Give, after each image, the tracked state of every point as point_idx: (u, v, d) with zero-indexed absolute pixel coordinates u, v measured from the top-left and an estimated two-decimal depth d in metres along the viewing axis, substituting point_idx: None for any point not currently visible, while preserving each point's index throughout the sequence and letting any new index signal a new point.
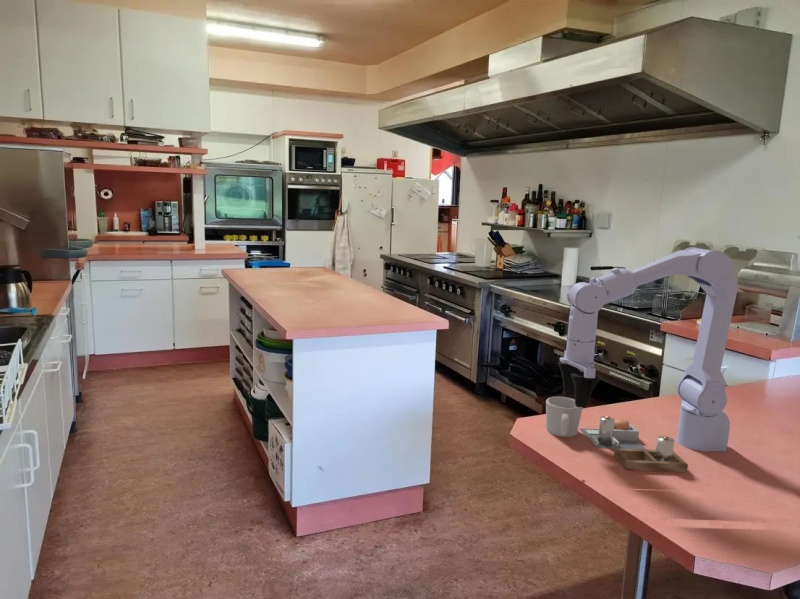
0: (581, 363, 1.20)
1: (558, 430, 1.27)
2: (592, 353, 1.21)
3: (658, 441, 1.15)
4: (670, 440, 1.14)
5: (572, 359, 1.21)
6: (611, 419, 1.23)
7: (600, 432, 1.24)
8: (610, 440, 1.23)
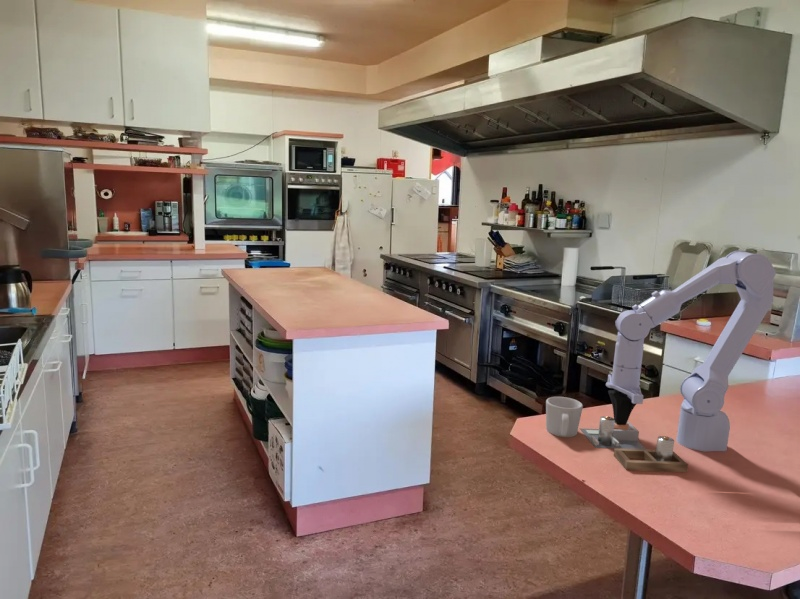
0: (628, 388, 1.25)
1: (558, 430, 1.27)
2: (638, 379, 1.25)
3: (658, 441, 1.15)
4: (670, 440, 1.14)
5: (619, 384, 1.25)
6: (611, 419, 1.23)
7: (600, 432, 1.24)
8: (610, 440, 1.23)
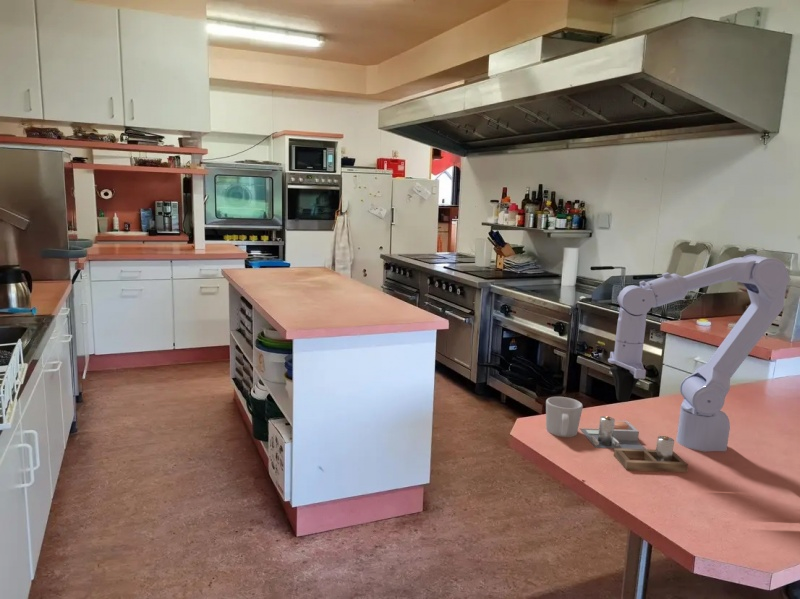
0: (630, 364, 1.23)
1: (558, 430, 1.27)
2: (641, 354, 1.24)
3: (658, 441, 1.15)
4: (670, 440, 1.14)
5: (621, 360, 1.24)
6: (611, 419, 1.23)
7: (600, 432, 1.24)
8: (610, 440, 1.23)
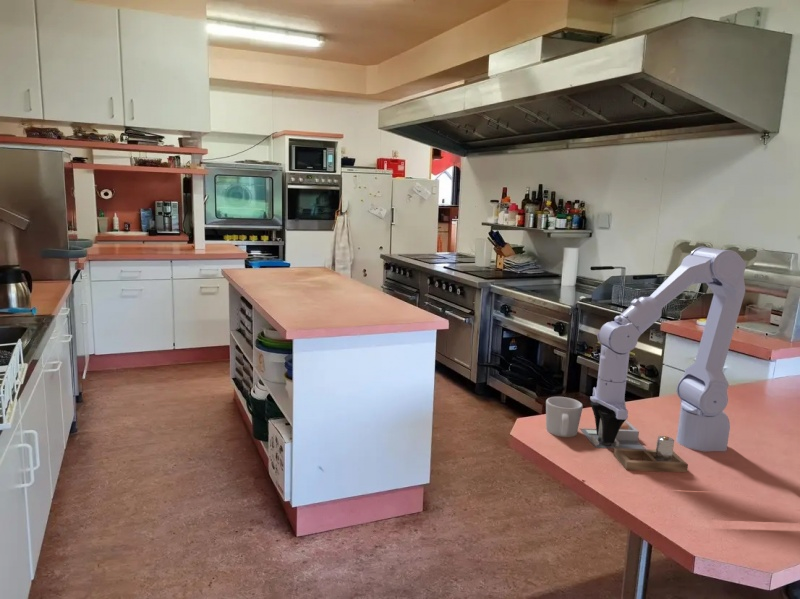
0: (612, 403, 1.20)
1: (558, 430, 1.27)
2: (623, 393, 1.21)
3: (658, 441, 1.15)
4: (670, 440, 1.14)
5: (603, 399, 1.21)
6: None
7: (600, 432, 1.24)
8: None
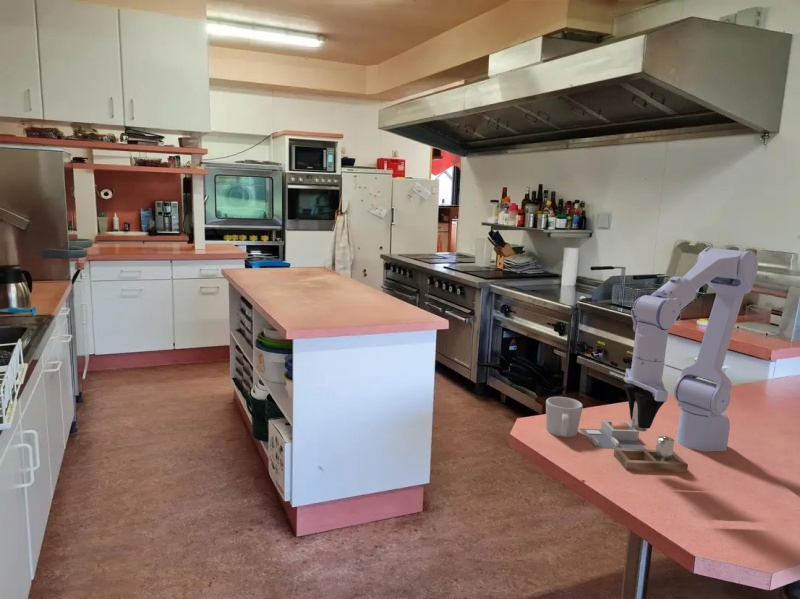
0: (650, 384, 1.10)
1: (558, 430, 1.27)
2: (661, 373, 1.10)
3: (658, 441, 1.15)
4: (670, 440, 1.14)
5: (639, 379, 1.11)
6: None
7: (635, 416, 1.13)
8: None
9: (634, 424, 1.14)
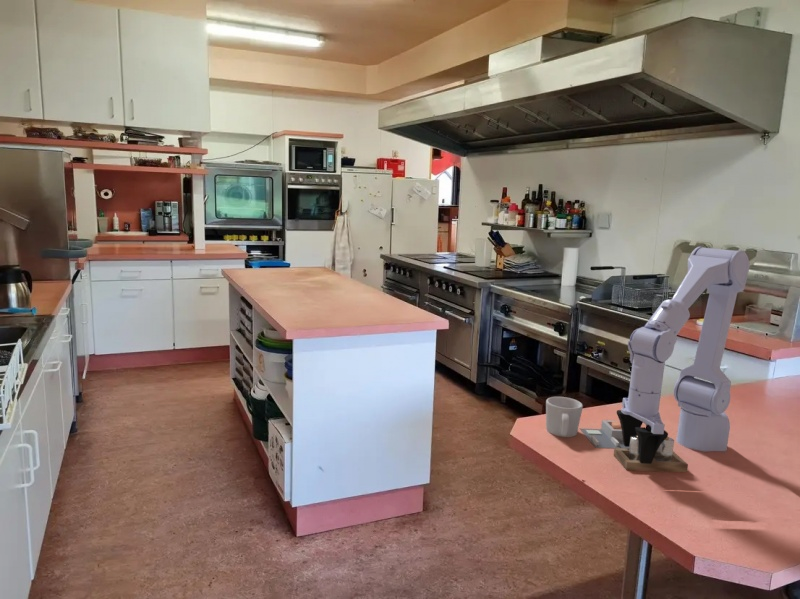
0: (646, 416, 1.11)
1: (558, 430, 1.27)
2: (658, 405, 1.11)
3: None
4: (670, 440, 1.14)
5: (636, 411, 1.11)
6: None
7: (631, 452, 1.14)
8: None
9: None
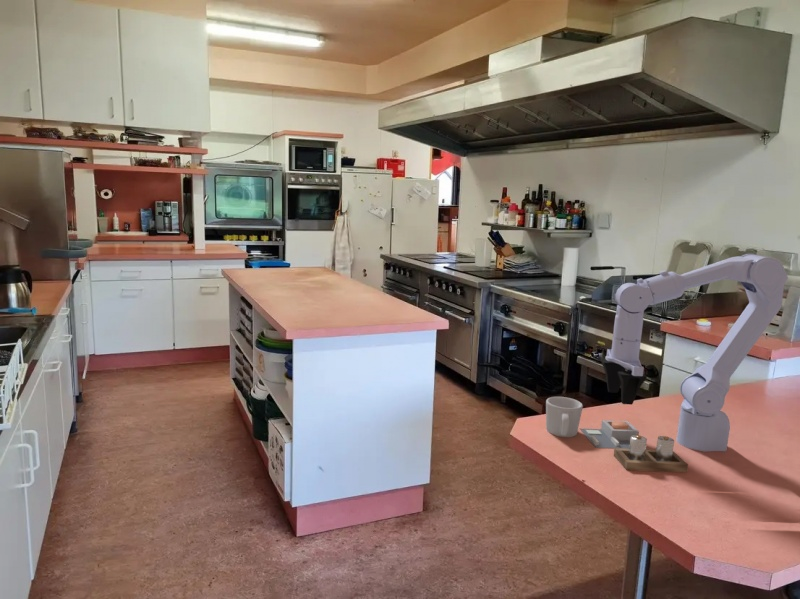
0: (628, 361, 1.23)
1: (558, 430, 1.27)
2: (638, 352, 1.24)
3: (658, 441, 1.15)
4: (670, 440, 1.14)
5: (618, 358, 1.24)
6: (643, 438, 1.14)
7: (631, 453, 1.14)
8: None
9: None
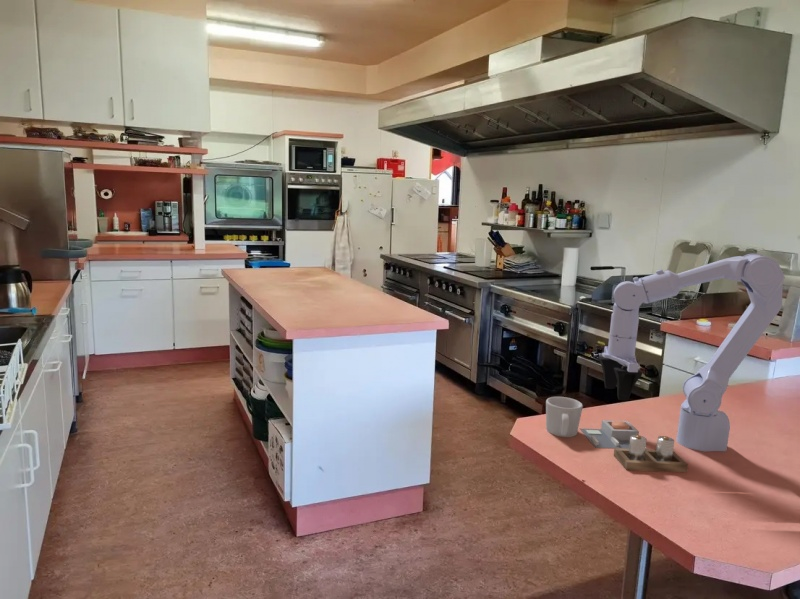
0: (623, 358, 1.26)
1: (558, 430, 1.27)
2: (634, 348, 1.27)
3: (658, 441, 1.15)
4: (670, 440, 1.14)
5: (615, 354, 1.27)
6: (642, 438, 1.14)
7: (631, 453, 1.14)
8: None
9: None
